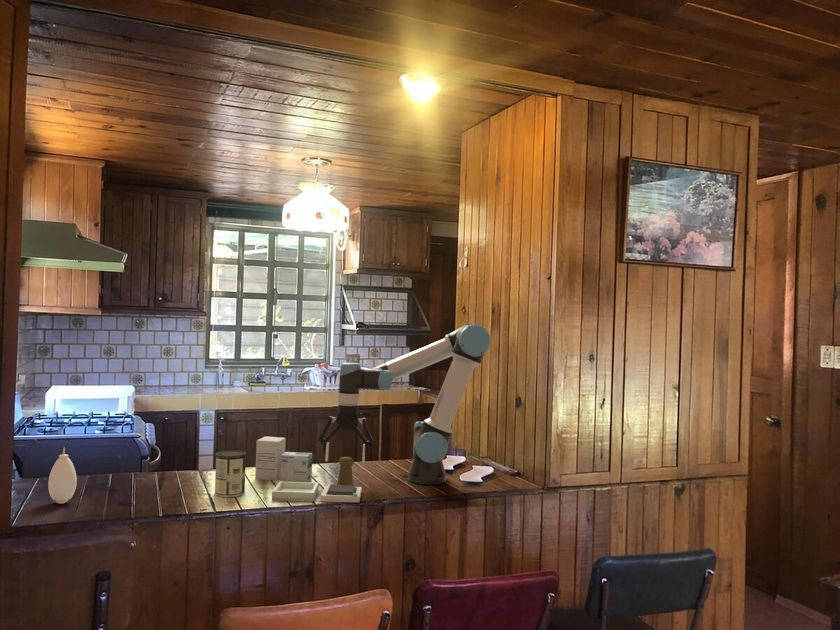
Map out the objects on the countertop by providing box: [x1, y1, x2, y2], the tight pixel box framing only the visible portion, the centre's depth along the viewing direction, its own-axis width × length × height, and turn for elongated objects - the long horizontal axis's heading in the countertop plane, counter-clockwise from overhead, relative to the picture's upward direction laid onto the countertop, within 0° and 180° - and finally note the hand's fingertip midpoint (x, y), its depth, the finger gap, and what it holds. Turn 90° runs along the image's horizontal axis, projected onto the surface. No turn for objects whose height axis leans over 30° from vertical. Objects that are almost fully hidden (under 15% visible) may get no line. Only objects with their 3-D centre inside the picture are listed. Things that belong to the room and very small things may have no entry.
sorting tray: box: [271, 480, 320, 503], centre depth 229 cm, size 14×14×3 cm
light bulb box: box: [279, 451, 313, 482], centre depth 248 cm, size 11×7×11 cm, turn 84°
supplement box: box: [254, 436, 287, 481], centre depth 253 cm, size 9×9×15 cm
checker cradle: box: [320, 485, 362, 503], centre depth 229 cm, size 13×13×3 cm
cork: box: [336, 456, 354, 485], centre depth 243 cm, size 6×6×11 cm
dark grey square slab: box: [328, 484, 357, 495], centre depth 229 cm, size 9×9×2 cm
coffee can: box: [214, 450, 247, 498], centre depth 228 cm, size 10×10×14 cm
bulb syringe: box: [47, 446, 78, 505], centre depth 210 cm, size 8×8×18 cm
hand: (345, 461), depth 243 cm, fingers open, 13 cm apart
